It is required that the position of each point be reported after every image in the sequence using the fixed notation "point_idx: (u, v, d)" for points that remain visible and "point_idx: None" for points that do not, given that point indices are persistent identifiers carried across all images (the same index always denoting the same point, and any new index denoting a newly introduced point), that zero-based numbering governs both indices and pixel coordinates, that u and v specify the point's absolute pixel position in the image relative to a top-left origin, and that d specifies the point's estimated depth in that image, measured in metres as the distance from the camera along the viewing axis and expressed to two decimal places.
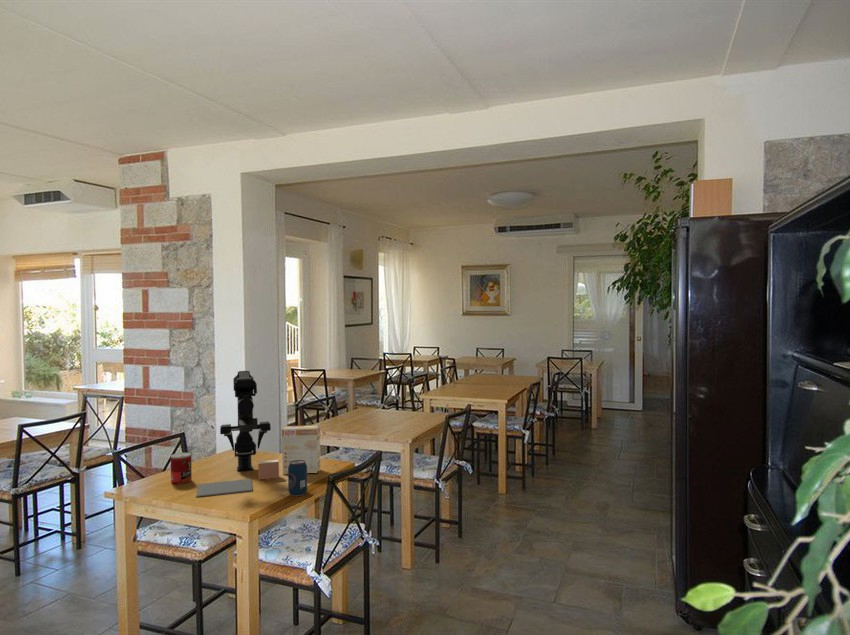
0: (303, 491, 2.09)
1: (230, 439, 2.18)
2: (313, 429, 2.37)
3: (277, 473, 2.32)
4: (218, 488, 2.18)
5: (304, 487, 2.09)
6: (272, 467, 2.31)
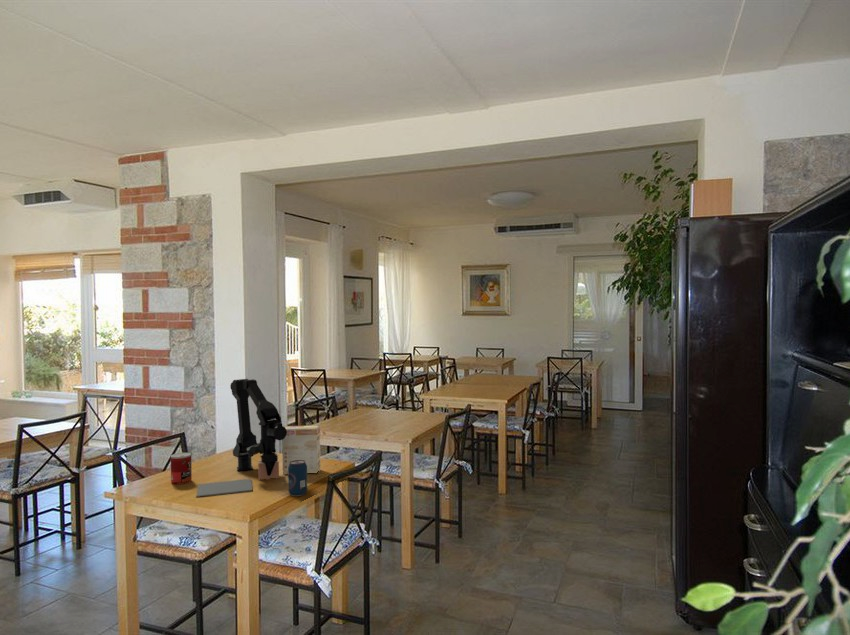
0: (303, 491, 2.09)
1: None
2: (313, 429, 2.37)
3: (277, 473, 2.32)
4: (218, 488, 2.18)
5: (304, 487, 2.09)
6: None
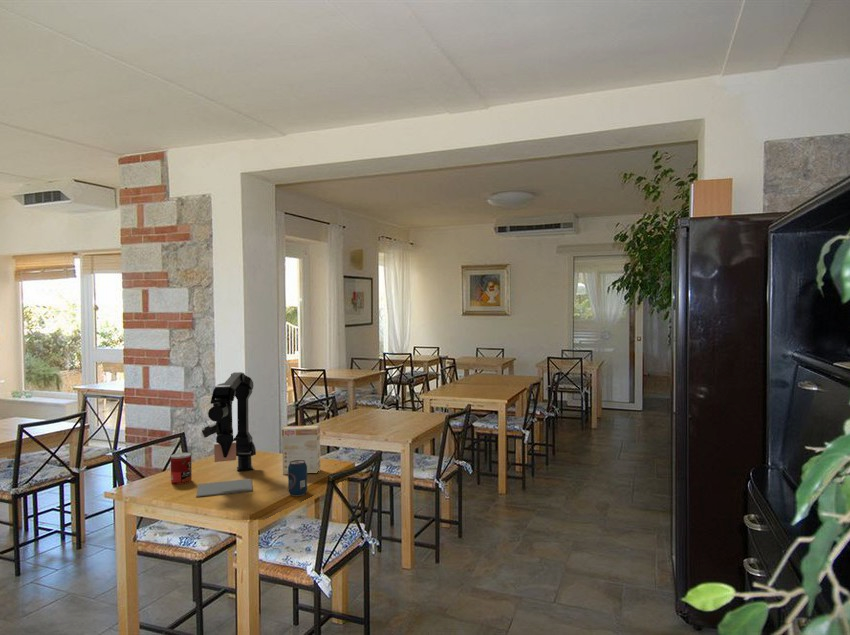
0: (303, 491, 2.09)
1: None
2: (313, 429, 2.37)
3: (234, 455, 2.21)
4: (218, 488, 2.18)
5: (304, 487, 2.09)
6: None
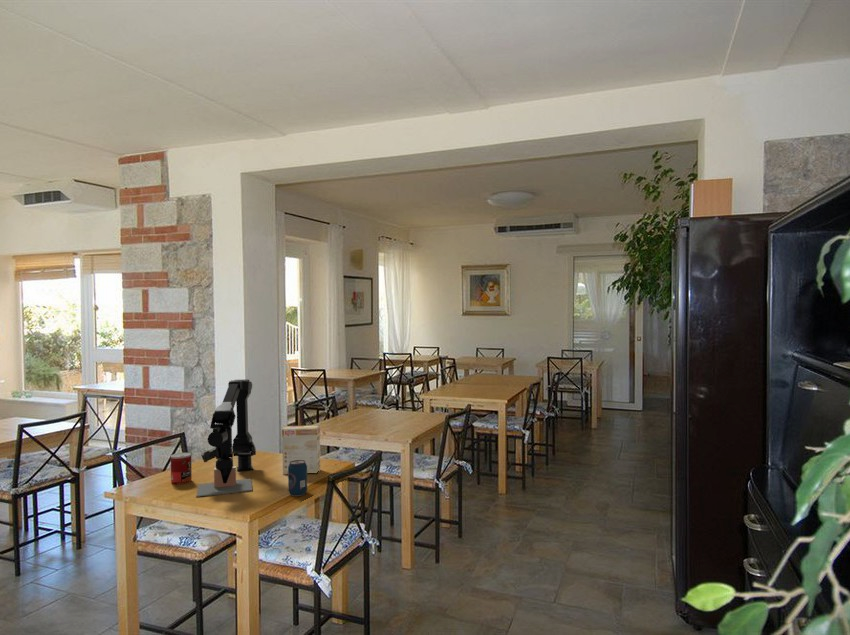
0: (303, 491, 2.09)
1: None
2: (313, 429, 2.37)
3: (234, 480, 2.21)
4: (218, 488, 2.18)
5: (304, 487, 2.09)
6: None
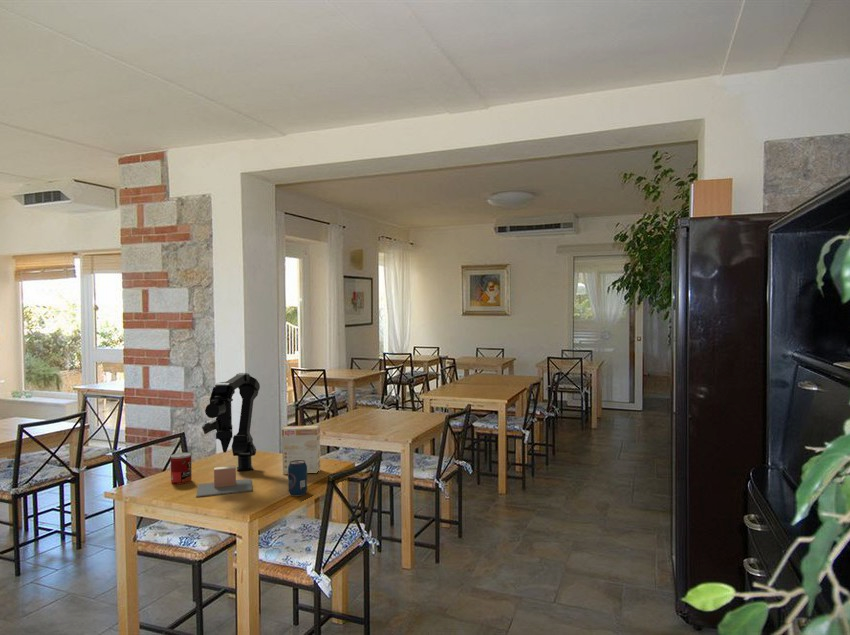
0: (303, 491, 2.09)
1: None
2: (313, 429, 2.37)
3: (234, 480, 2.21)
4: (218, 488, 2.18)
5: (304, 487, 2.09)
6: (228, 473, 2.20)
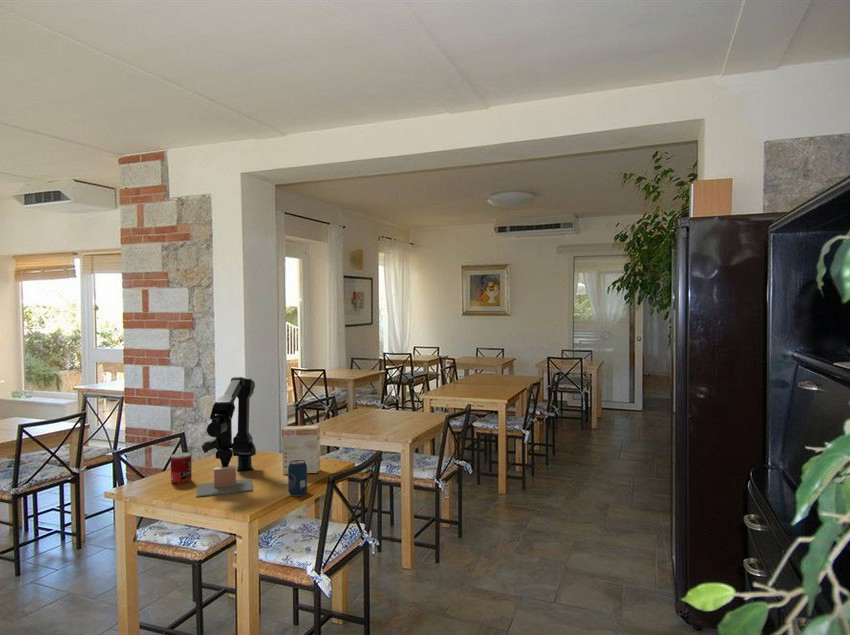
0: (303, 491, 2.09)
1: None
2: (313, 429, 2.37)
3: (234, 480, 2.21)
4: (218, 488, 2.18)
5: (304, 487, 2.09)
6: (228, 473, 2.20)
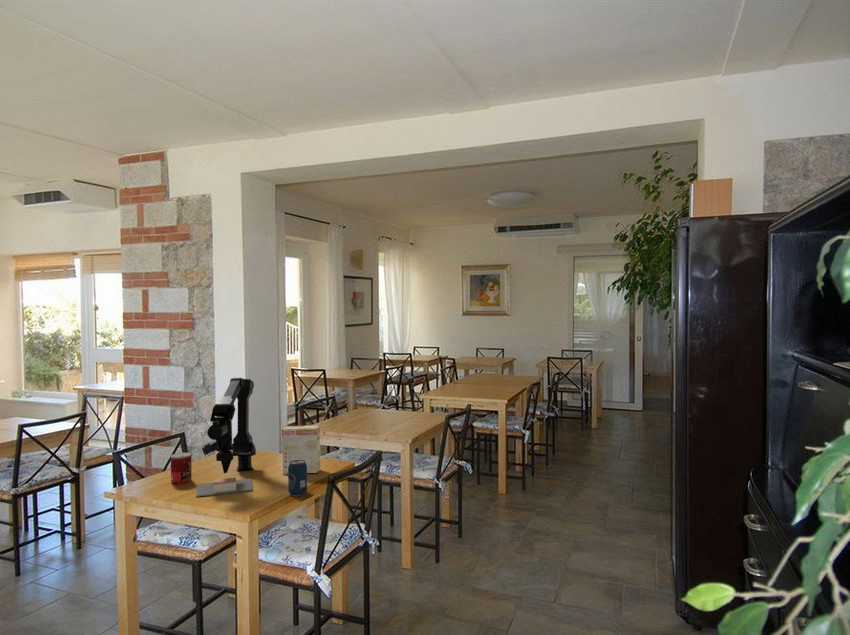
0: (303, 491, 2.09)
1: None
2: (313, 429, 2.37)
3: None
4: None
5: (304, 487, 2.09)
6: None
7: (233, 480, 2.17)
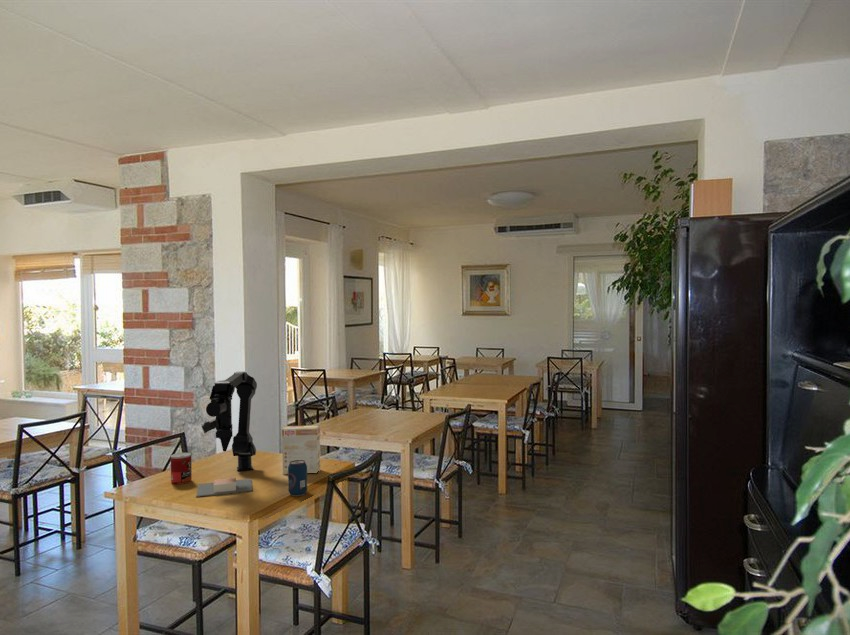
0: (303, 491, 2.09)
1: None
2: (313, 429, 2.37)
3: None
4: None
5: (304, 487, 2.09)
6: None
7: (233, 480, 2.17)
